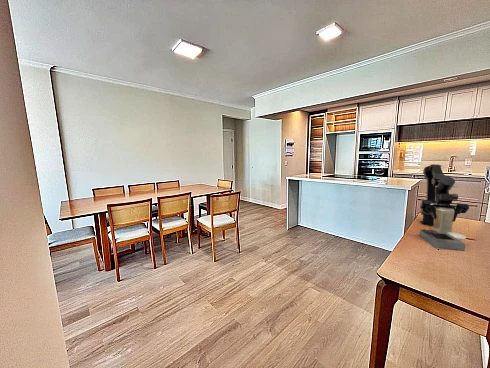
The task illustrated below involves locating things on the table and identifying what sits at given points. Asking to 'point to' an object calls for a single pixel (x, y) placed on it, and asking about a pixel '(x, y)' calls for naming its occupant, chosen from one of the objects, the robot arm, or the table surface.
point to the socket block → (442, 240)
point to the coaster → (457, 235)
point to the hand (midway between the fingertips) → (444, 220)
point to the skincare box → (443, 220)
